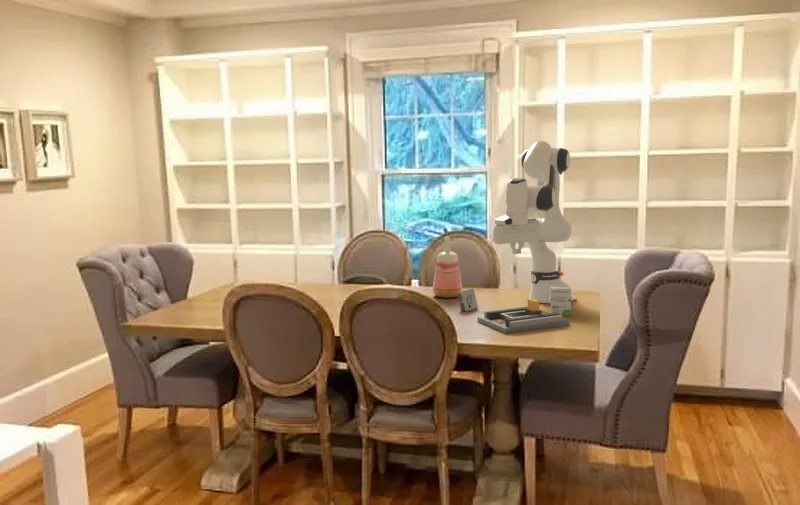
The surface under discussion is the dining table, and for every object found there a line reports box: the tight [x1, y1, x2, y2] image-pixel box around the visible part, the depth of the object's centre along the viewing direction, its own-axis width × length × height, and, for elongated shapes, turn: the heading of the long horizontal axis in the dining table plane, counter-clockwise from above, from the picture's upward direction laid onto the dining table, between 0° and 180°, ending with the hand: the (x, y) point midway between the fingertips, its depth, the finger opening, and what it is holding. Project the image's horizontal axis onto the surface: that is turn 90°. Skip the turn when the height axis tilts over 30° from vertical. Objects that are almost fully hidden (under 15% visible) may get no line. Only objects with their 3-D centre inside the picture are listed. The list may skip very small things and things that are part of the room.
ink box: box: [550, 286, 572, 316], centre depth 286 cm, size 9×5×12 cm, turn 76°
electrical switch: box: [457, 287, 479, 312], centre depth 300 cm, size 9×5×9 cm, turn 141°
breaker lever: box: [525, 298, 543, 316], centre depth 274 cm, size 4×6×7 cm, turn 23°
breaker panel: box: [477, 310, 571, 334], centre depth 273 cm, size 30×22×4 cm
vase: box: [432, 236, 463, 299], centre depth 327 cm, size 14×14×30 cm
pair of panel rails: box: [483, 305, 564, 328], centre depth 272 cm, size 24×21×2 cm
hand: (516, 253), depth 268 cm, fingers closed
